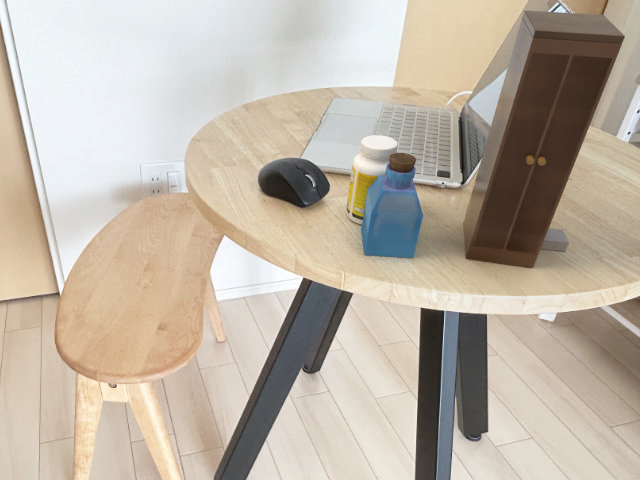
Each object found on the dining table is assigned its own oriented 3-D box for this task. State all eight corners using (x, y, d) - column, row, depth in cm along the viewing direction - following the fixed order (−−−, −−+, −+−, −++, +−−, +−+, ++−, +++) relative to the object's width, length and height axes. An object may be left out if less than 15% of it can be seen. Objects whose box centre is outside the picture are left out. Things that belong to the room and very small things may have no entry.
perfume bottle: (361, 229, 78) (374, 146, 70) (407, 232, 77) (425, 148, 70) (364, 255, 73) (378, 168, 65) (413, 258, 72) (433, 171, 65)
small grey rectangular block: (537, 227, 76) (533, 236, 77) (542, 239, 73) (539, 249, 74) (562, 229, 75) (559, 238, 76) (569, 242, 73) (565, 251, 74)
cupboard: (463, 223, 79) (524, 10, 62) (524, 231, 78) (603, 14, 61) (466, 261, 72) (536, 31, 55) (533, 271, 70) (627, 37, 53)
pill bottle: (399, 221, 79) (414, 146, 73) (362, 231, 77) (375, 155, 70) (372, 201, 84) (384, 129, 77) (337, 211, 82) (346, 137, 75)
